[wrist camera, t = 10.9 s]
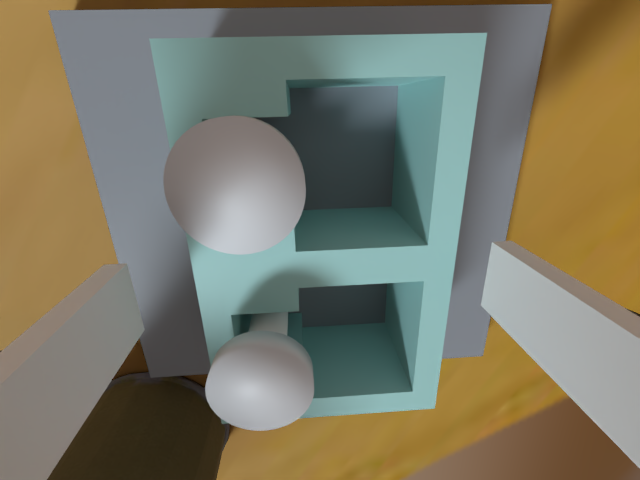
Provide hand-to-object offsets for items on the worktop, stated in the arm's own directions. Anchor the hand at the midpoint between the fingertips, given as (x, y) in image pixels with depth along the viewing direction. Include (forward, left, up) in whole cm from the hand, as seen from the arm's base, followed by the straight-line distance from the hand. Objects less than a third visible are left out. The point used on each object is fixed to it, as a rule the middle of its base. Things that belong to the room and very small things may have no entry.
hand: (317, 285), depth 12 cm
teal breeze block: (0, 0, -7) cm, 7 cm away
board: (0, 0, -8) cm, 8 cm away
